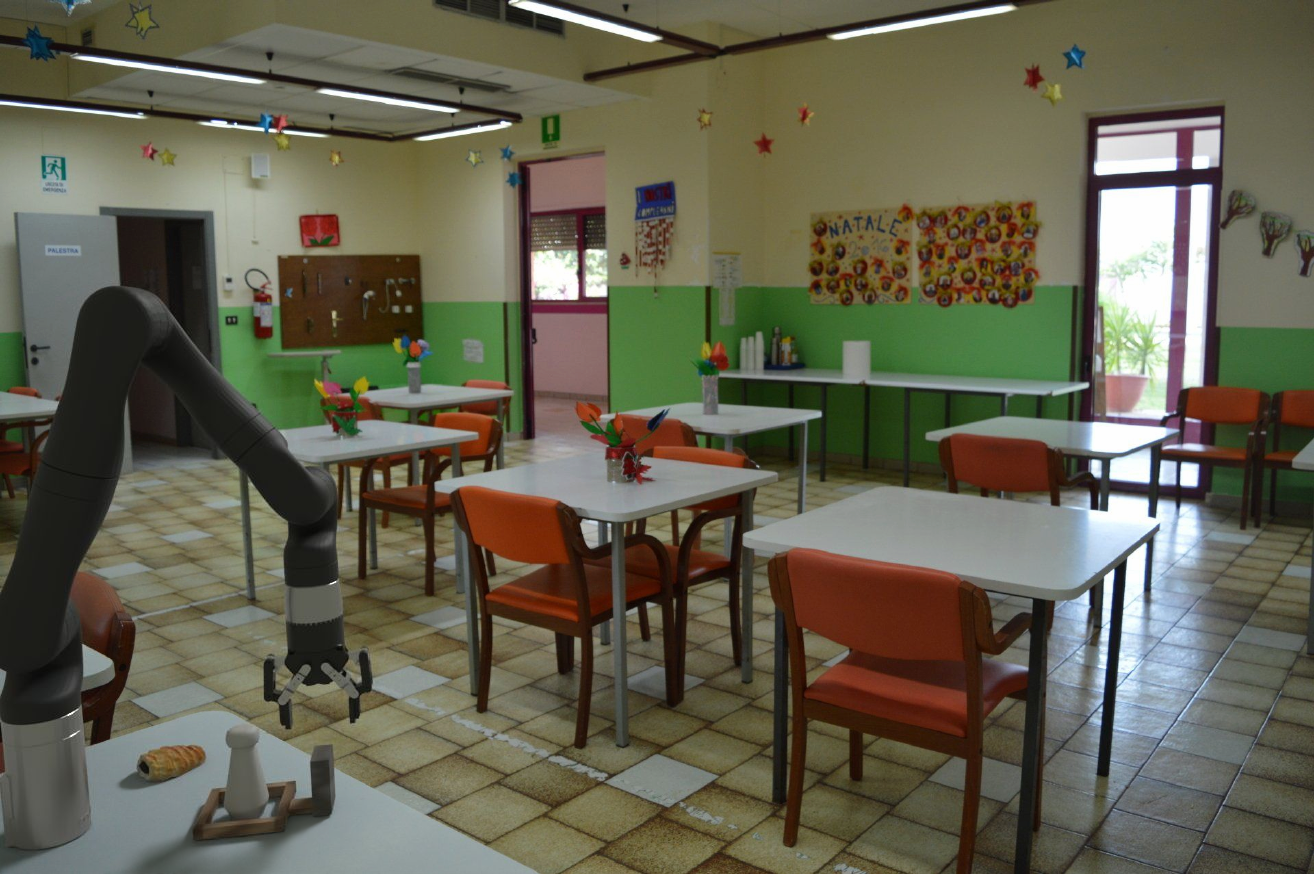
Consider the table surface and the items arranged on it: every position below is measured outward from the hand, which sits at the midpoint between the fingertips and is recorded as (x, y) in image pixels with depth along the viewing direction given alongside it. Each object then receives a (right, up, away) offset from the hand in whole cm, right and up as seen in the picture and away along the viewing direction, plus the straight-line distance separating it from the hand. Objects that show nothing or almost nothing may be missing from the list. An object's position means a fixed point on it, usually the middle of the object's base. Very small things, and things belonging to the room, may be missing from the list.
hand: (321, 724), depth 140 cm
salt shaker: (-10, -13, 0) cm, 16 cm away
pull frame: (-7, -12, 0) cm, 14 cm away
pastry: (-28, -11, +13) cm, 33 cm away
